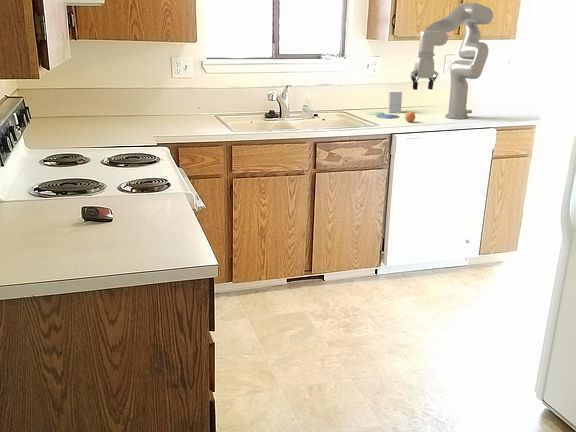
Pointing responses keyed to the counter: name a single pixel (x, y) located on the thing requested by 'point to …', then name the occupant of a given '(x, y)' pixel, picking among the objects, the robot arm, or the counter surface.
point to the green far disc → (375, 113)
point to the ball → (410, 116)
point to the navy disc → (387, 116)
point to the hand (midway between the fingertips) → (422, 89)
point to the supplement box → (395, 101)
